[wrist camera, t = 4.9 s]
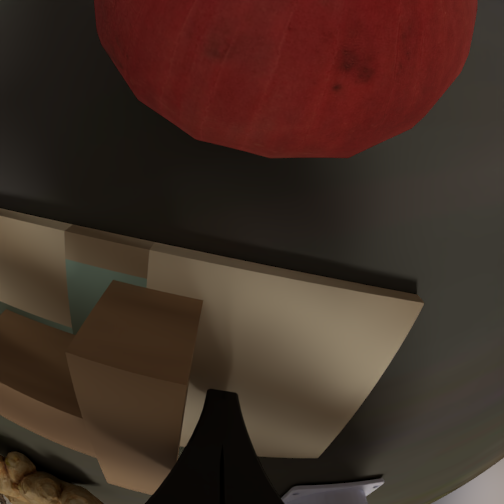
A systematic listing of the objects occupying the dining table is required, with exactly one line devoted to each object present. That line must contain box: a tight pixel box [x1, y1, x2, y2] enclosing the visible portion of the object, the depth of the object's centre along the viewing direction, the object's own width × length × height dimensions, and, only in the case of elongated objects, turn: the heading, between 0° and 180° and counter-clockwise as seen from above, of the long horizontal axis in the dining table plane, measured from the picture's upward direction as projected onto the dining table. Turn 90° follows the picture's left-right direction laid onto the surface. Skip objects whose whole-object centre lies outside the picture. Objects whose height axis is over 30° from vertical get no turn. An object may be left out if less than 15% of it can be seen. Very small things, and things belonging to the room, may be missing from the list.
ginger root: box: [0, 451, 103, 504], centre depth 17 cm, size 16×16×8 cm
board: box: [0, 208, 424, 458], centre depth 11 cm, size 11×19×1 cm, turn 77°
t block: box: [0, 280, 203, 495], centre depth 9 cm, size 9×8×4 cm
